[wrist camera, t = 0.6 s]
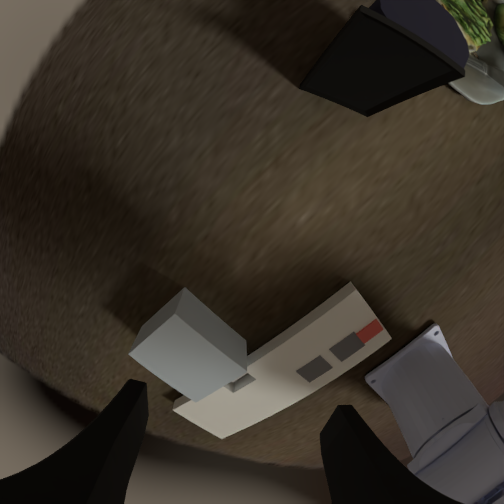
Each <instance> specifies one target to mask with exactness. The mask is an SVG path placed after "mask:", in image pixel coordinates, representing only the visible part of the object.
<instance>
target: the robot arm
mask: <svg viewBox="0 0 504 504" xmlns="http://www.w3.org/2000/svg"><path fill="white" fill-rule="evenodd" d="M365 380H366V382H367V383H368V384H369V385H370V386H371V387H372V388H373V389H374V390H375V391H376V392H377V394H378V395H379V396H380V397H381V398H382V399H383V400H384V401H385V402H386V403H387V404H388V405H389V406H390V408H391V410H392V413H393V415H394V417H395V419H396V421H397V423H398V425H399V428H400V430H401V432H402V434H403V436H404V439H405V441H406V443H407V445H408V448H409V450H410V452H411V454H412V457H413V460H412V461H411V462H410V463H409V464H408V465H407V466H408V469H409V470H408V469H407V468H406V467H405V466H404V465H403V464H402V463H401V462H400V461H399V460H398V459H397V458H396V457H395V456H394V455H393V454H392V453H391V452H390V451H389V450H388V449H387V448H386V447H385V446H384V444H383V443H382V442H381V441H380V440H379V439H378V437H377V436H376V435H375V434H374V433H373V431H372V430H371V429H370V428H369V426H368V425H367V424H366V423H365V421H364V420H363V419H362V417H361V416H360V415H359V414H358V412H357V411H356V410H355V409H354V407H353V406H352V405H338V406H337V407H336V409H335V411H334V412H333V414H332V415H331V417H330V419H329V420H328V422H327V423H326V425H325V426H324V428H323V430H322V431H321V433H320V444H321V455H322V460H323V464H324V469H325V473H326V477H327V482H328V486H329V491H330V495H331V500H332V504H504V401H503V402H494V403H492V405H491V406H489V405H487V403H486V402H485V400H484V399H483V398H482V396H481V395H480V394H479V392H478V391H477V389H476V388H475V387H474V385H473V384H472V383H471V381H470V380H469V379H468V377H467V376H466V375H465V374H464V372H463V371H462V370H461V368H460V367H459V366H458V364H457V363H456V362H455V361H454V359H453V358H452V355H451V353H450V350H449V348H448V345H447V343H446V341H445V338H444V336H443V334H442V332H441V329H440V327H439V326H438V324H437V323H434V324H432V325H431V326H430V327H428V328H427V329H426V330H425V331H424V332H423V333H421V334H420V335H419V336H418V337H417V338H415V339H414V340H413V341H412V342H410V343H409V344H408V345H407V346H405V347H404V348H403V349H401V350H400V351H399V352H397V353H396V354H395V355H393V356H392V357H391V358H389V359H388V360H387V361H385V362H384V363H383V364H381V365H380V366H378V367H377V368H376V369H374V370H373V371H371V372H370V373H368V374H367V375H366V376H365ZM148 416H149V412H148V399H147V383H145V382H141V381H137V380H133V379H129V380H128V381H127V382H126V384H125V385H124V386H123V387H122V389H121V390H120V391H119V392H118V394H117V395H116V396H115V397H114V398H113V400H112V401H111V402H110V403H109V404H108V405H107V406H106V407H105V408H104V409H103V411H102V412H101V413H100V414H99V415H98V416H97V417H96V418H95V419H94V420H93V421H92V422H91V423H90V424H89V425H88V426H87V427H86V428H85V429H83V430H82V431H81V432H80V433H79V434H78V435H77V436H76V437H74V438H73V439H72V440H71V441H70V442H68V443H67V444H66V445H64V446H63V447H62V448H60V449H59V450H57V451H56V452H54V453H53V454H51V455H50V456H49V457H47V458H45V459H44V460H42V461H40V462H39V463H37V464H35V465H33V466H31V467H29V468H27V469H25V470H23V471H21V472H19V473H16V474H14V475H12V476H9V477H6V478H3V479H0V504H124V501H125V495H126V490H127V486H128V483H129V479H130V476H131V473H132V470H133V467H134V465H135V461H136V459H137V456H138V453H139V449H140V447H141V444H142V441H143V438H144V434H145V430H146V425H147V420H148Z"/></svg>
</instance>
